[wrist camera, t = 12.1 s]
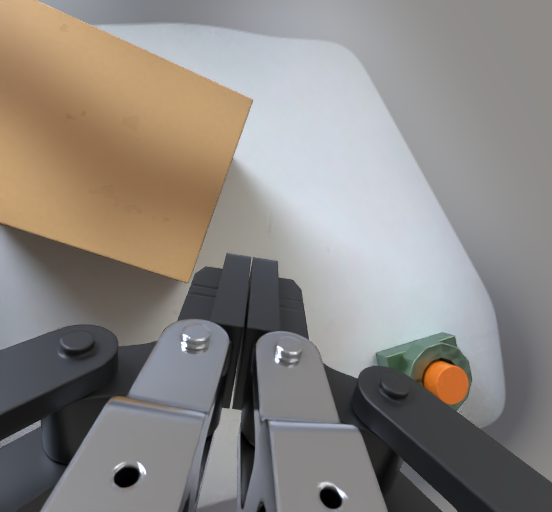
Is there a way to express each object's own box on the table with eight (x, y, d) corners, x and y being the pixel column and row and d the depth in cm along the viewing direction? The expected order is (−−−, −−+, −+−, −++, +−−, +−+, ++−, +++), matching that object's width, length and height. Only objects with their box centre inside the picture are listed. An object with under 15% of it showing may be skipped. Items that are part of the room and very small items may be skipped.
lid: (8, -7, 20) (2, -16, 19) (251, 103, 23) (253, 99, 23) (-82, 196, 19) (-91, 194, 18) (188, 283, 22) (188, 283, 21)
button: (449, 356, 32) (465, 361, 30) (456, 391, 32) (472, 398, 30) (419, 366, 31) (433, 372, 30) (426, 402, 31) (440, 409, 30)
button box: (441, 327, 35) (469, 334, 32) (453, 389, 36) (482, 402, 32) (374, 347, 34) (397, 356, 30) (387, 412, 34) (411, 428, 30)
